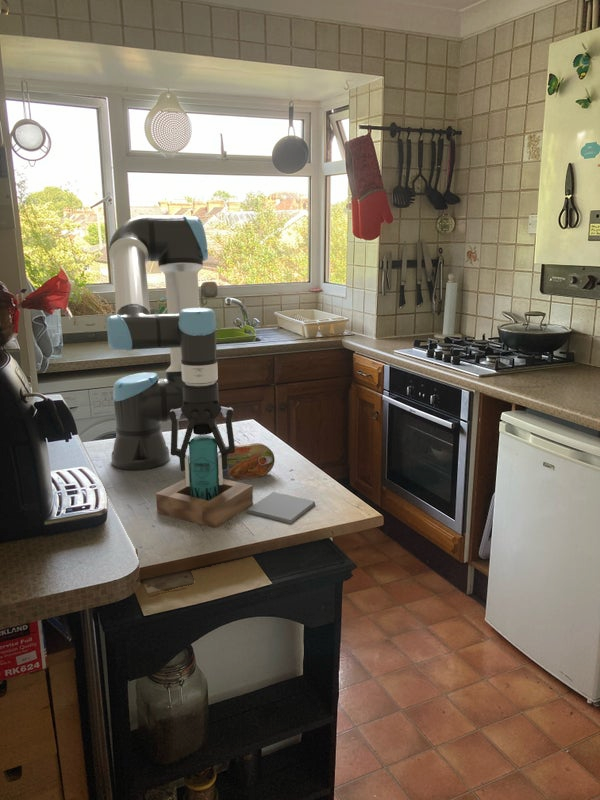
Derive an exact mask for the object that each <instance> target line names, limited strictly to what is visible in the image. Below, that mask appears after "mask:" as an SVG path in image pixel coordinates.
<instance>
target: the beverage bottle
mask: <svg viewBox="0 0 600 800" xmlns="http://www.w3.org/2000/svg"><path fill="white" fill-rule="evenodd" d="M192 434H194V435H195V436H194V437H193V438H191V439H190V441H189V444H188V452H189V453H188V454H189V463H190V489H191V495H190V496H192V497H196V498H200V499H204V500H208V501H209V500H211V499H213V498H214V497H216V496H218V495H219V493H220V491H219V479H218V478H219V475H218V473H219V472H218V452H219V451H218V445H217V443H216V440H215V438H214V436H212V435H210V434H213V433H212V431H211V429H210V427H209V425H207V424H200V425H194V428H193V431H192Z"/></svg>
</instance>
